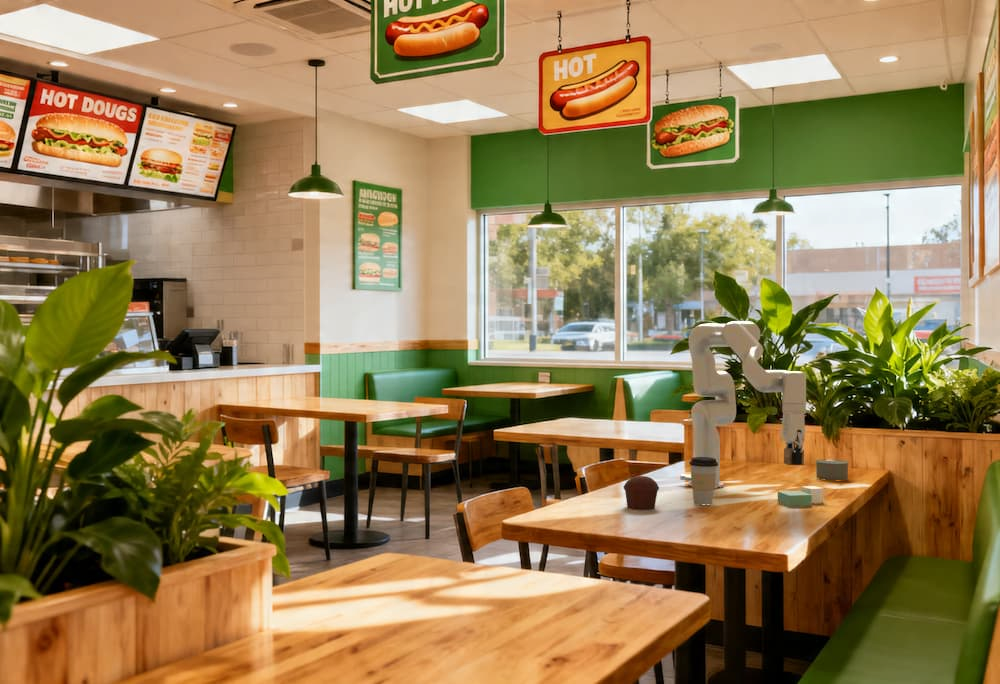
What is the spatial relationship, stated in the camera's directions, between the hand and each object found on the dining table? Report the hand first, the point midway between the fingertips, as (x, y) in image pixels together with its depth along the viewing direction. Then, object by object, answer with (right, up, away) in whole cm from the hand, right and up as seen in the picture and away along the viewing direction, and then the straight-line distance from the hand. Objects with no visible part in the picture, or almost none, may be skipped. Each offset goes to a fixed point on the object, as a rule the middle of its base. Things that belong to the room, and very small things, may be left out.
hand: (793, 462), depth 312 cm
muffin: (-52, -14, -8) cm, 54 cm away
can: (+32, -14, +55) cm, 65 cm away
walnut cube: (0, -1, 0) cm, 1 cm away
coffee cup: (-30, -14, -1) cm, 33 cm away
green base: (0, -14, 0) cm, 14 cm away
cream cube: (+8, -14, +5) cm, 17 cm away
